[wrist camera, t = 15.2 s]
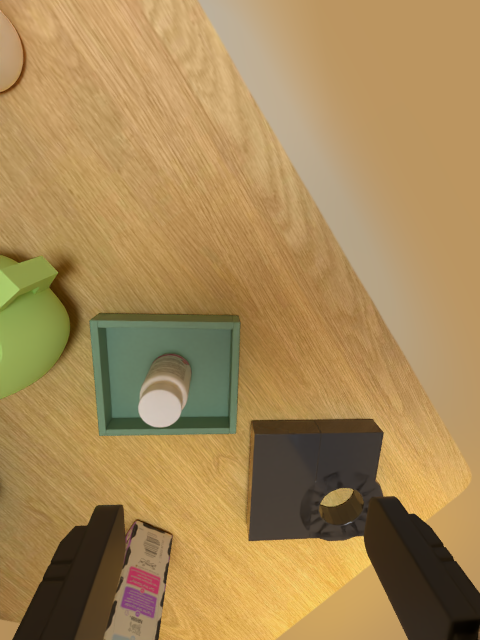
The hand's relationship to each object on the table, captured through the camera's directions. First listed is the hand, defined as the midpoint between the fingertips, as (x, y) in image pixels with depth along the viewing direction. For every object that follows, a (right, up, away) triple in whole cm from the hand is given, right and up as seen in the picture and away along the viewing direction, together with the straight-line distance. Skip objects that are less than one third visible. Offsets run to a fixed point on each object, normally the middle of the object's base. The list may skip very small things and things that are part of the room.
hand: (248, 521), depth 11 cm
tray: (-9, +1, +28) cm, 30 cm away
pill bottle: (-8, +1, +28) cm, 29 cm away
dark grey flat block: (+9, -14, +34) cm, 38 cm away
